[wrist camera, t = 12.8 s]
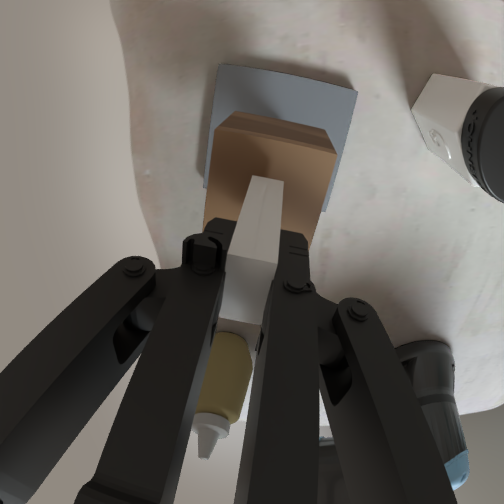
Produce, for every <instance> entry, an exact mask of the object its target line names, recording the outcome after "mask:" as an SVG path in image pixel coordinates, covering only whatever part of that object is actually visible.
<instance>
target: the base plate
mask: <svg viewBox="0 0 504 504" xmlns="http://www.w3.org/2000/svg"><path fill="white" fill-rule="evenodd" d="M357 95H358V91H356V90H352V89H349V88H345V87H342V86H338V85H334V84H330V83H326V82H322V81H318V80H314V79H309V78H305V77H300V76H296V75H291V74H286V73H281V72H275V71H270V70H264V69H257V68H251V67H244V66H237V65H229V64H219V66H218V72H217V79H216V86H215V93H214V100H213V107H212V115H211V123H210V131H209V139H208V147H207V156H206V165H205V174H204V184H203V188H207V185H208V176H209V168H210V160H211V152H212V144H213V137H214V130H215V128H216V127H218V126H219V125H220V124H221V123H222V122H223V121H224V120H225V119H226V118H228V117H229V116H230V115H231V114H232V113H233V112H234V111H239V112H244V113H250V114H256V115H261V116H266V117H272V118H277V119H281V120H286V121H291V122H295V123H300V124H304V125H308V126H313V127H317V128H321V129H325V130H326V132H327V134H328V136H329V138H330V140H331V142H332V144H333V146H334V148H335V150H336V153H337V159H336V162H335V166H334V169H333V173H332V176H331V180H330V183H329V186H328V190H327V193H326V197H325V200H324V203H323V206H322V210H321V211H322V212H326V208H327V205H328V202H329V198H330V195H331V192H332V188H333V185H334V181H335V178H336V174H337V171H338V167H339V164H340V160H341V156H342V153H343V149H344V145H345V142H346V138H347V134H348V130H349V127H350V123H351V119H352V115H353V111H354V107H355V103H356V99H357Z"/></svg>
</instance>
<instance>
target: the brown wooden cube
mask: <svg viewBox="0 0 504 504" xmlns="http://www.w3.org/2000/svg"><path fill="white" fill-rule="evenodd" d="M336 159H337V153H336V150H335V148H334V146H333V144H332V142H331V140H330V138H329V136H328V134H327V132H326V130H325V129H321V128H317V127H313V126H308V125H304V124H300V123H295V122H291V121H286V120H281V119H277V118H272V117H266V116H261V115H256V114H250V113H244V112H239V111H234V112H233V113H232V114H231V115H230V116H229V117H228V118H226V119H225V120H224V121H223V122H222V123H221V124H220V125H219V126H218V127H216V128H215V130H214V137H213V144H212V152H211V160H210V168H209V176H208V185H207V193H206V202H205V212H204V221H203V231H204V228H205V226H206V224H207V222H209V221H210V220H212V219H213V218H215V217H217V218H223V219H228V220H233V221H238V218H239V215H240V212H241V209H242V206H243V203H244V200H245V197H246V194H247V191H248V187H249V184H250V181H251V178H252V175H254V176H260V177H265V178H270V179H275V180H280V181H284V186H283V201H282V215H281V228H280V229H283V230H288V231H293V232H298V233H302V234H303V235H304V236H305V238H306V239H307V241H308V251H309V248H310V245H311V242H312V239H313V236H314V232H315V229H316V226H317V223H318V220H319V216H320V213H321V210H322V206H323V203H324V200H325V197H326V193H327V190H328V186H329V183H330V180H331V176H332V173H333V169H334V166H335V162H336ZM203 231H202V233H203Z"/></svg>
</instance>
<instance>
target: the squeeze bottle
mask: <svg viewBox="0 0 504 504" xmlns="http://www.w3.org/2000/svg"><path fill="white" fill-rule="evenodd" d="M252 370H253V366H252V360H251V356H250V352H249V348H248V344H247V343H246V341H245V340H244V339H243V338H241V337H240V336H238V335H236V334H233V333H230V332H219V333H215V336H214V340H213V344H212V348H211V352H210V356H209V360H208V364H207V368H206V372H205V376H204V379H203V383H202V387H201V391H200V395H199V399H198V403H197V407H196V411H195V415H194V419H193V423H192V428H191V429H192V431H194V432H195V433H197V434H198V457H199V458H201V459H204V460H208V459H209V457H210V455H211V452H212V451H213V449H214V446H215V444H216V442H217V440H218V439H222V438H226V437H227V436H228V435H229V429H230V424H233V423H235V422H236V421H237V420H238V419H239V417H240V413H241V410H242V406H243V403H244V399H245V396H246V392H247V388H248V385H249V381H250V378H251V374H252Z"/></svg>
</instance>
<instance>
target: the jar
mask: <svg viewBox="0 0 504 504" xmlns="http://www.w3.org/2000/svg"><path fill="white" fill-rule="evenodd" d="M411 111H412V113H413V115H414V118H415V120H416V122H417V124H418V126H419V129H420V131H421V133H422V135H423V138H424V140H425V143H426V145H427V147H428V150H429V151H431V152H432V153H433V154H434V155H436V156H437V157H438V158H440V159H441V160H442V161H443V162H445V163H446V164H447V165H448V166H449V167H451V168H452V169H453V170H454V171H456V172H457V173H458V174H459V175H460V176H461V177H463V178H464V179H465V180H466V181H467V182H468V183H470V184H471V185H472V186H477V187H481V188H482V189H483V190H484V191H485V192H487V193H488V194H489V195H490V196H492V197H494V198H495V199H496V200H498V201H500V202H502V203H504V87H497V86H493V85H490V84H486V83H482V82H478V81H473V80H468V79H463V78H458V77H453V76H447V75H441V74H435V73H434V74H432V75H431V77H430V79H429V80H428V82H427V84H426V85H425V87H424V89H423V90H422V92H421V94H420V95H419V97H418V99H417V100H416V102H415V104H414V105H413V107H412V109H411Z"/></svg>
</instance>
